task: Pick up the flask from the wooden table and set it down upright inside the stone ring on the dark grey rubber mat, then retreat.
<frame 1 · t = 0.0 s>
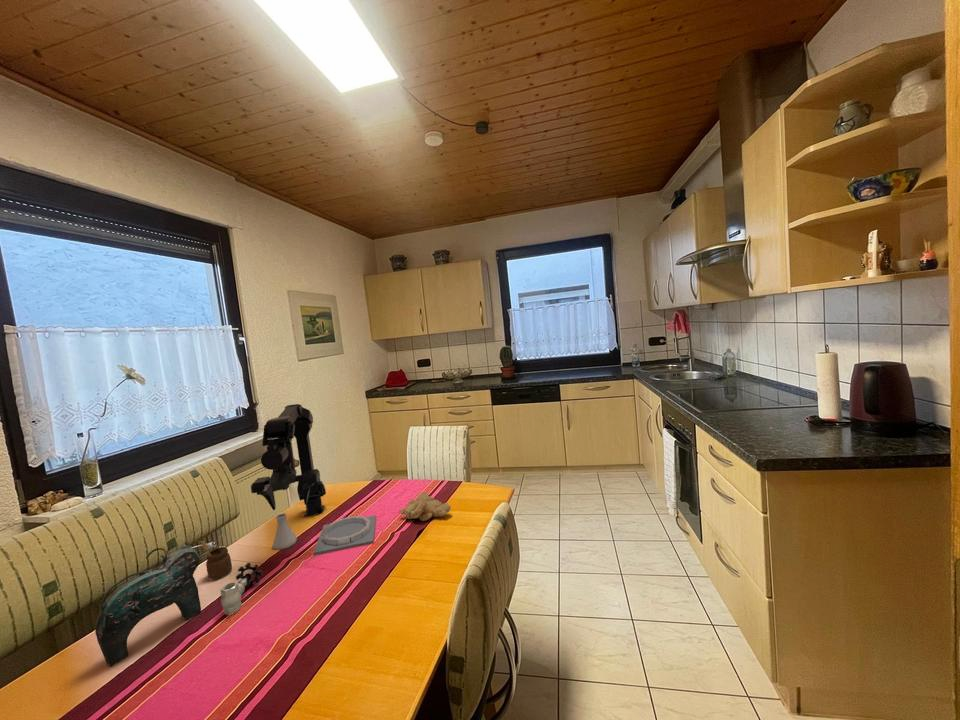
hand: (290, 506, 121), 15 cm above the table, fingers open, 9 cm apart
flask: (285, 544, 127), on the table
stone ring: (346, 529, 129), on the rubber mat, point 1 cm above the table
valve: (241, 600, 101), on the table
rubber mat: (347, 534, 129), on the table
green animal figurine: (160, 635, 91), on the table
ginger root: (424, 516, 138), on the table
utensil holder: (220, 575, 113), on the table
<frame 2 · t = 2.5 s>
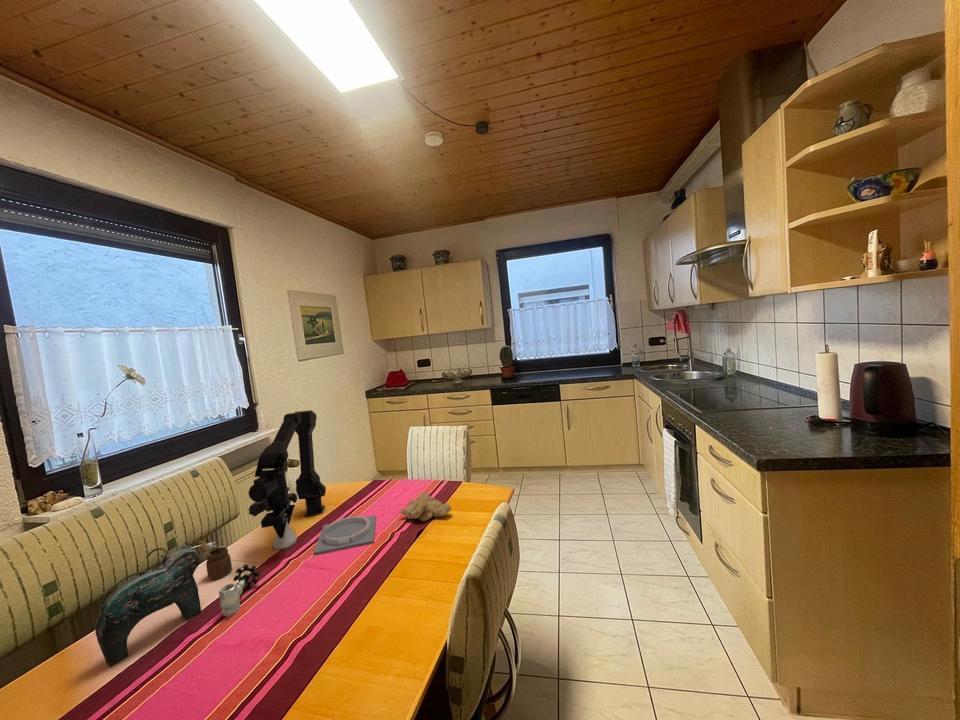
hand: (283, 533, 127), 4 cm above the table, fingers closed on flask, 5 cm apart
flask: (285, 544, 127), on the table, touching gripper
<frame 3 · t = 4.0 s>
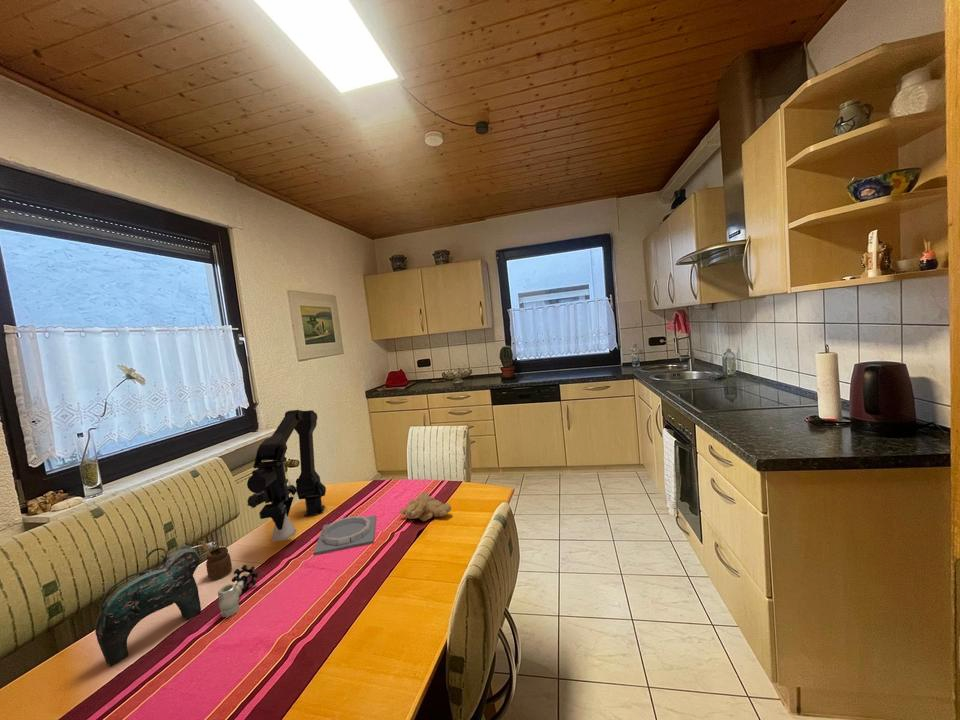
hand: (282, 525, 127), 6 cm above the table, fingers closed on flask, 5 cm apart
flask: (284, 536, 127), point 3 cm above the table, touching gripper
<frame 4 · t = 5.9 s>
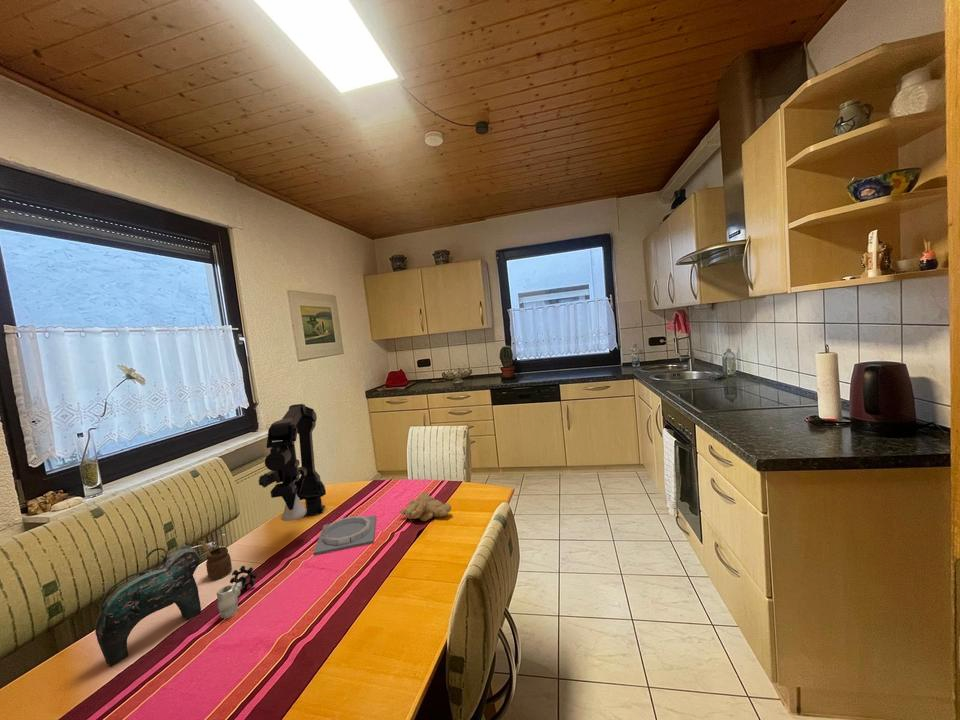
hand: (293, 506, 127), 12 cm above the table, fingers closed on flask, 5 cm apart
flask: (294, 516, 127), point 9 cm above the table, touching gripper
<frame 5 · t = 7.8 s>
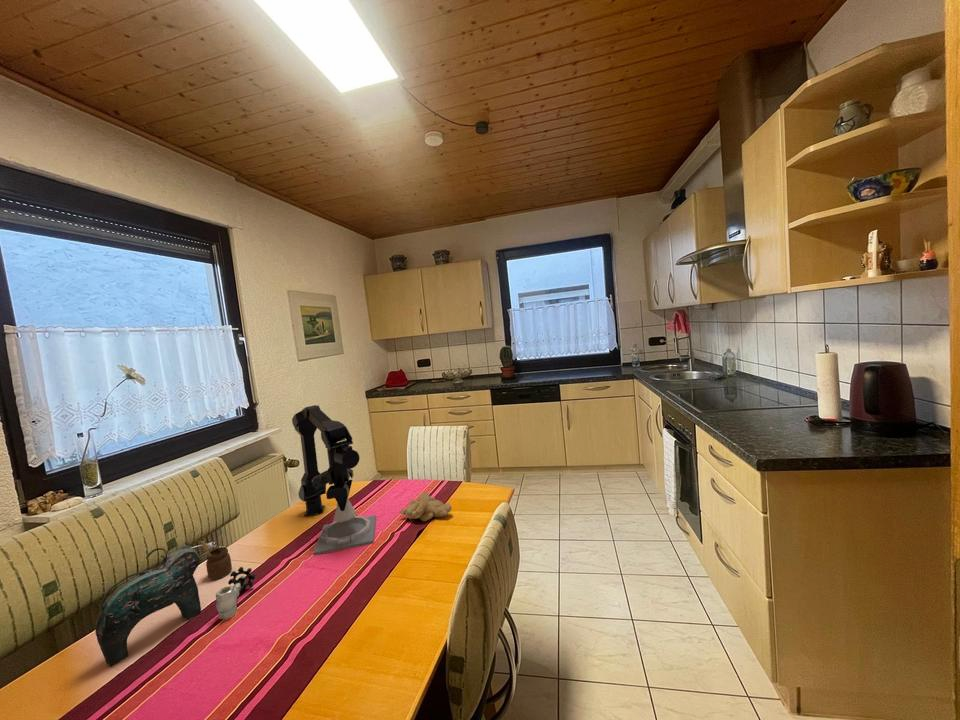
hand: (343, 507, 129), 10 cm above the table, fingers closed on flask, 5 cm apart
flask: (345, 517, 129), point 6 cm above the table, touching gripper
when the fingers open (6 cm above the table, at t = 9.3 s): flask drops 1 cm, resting on rubber mat.
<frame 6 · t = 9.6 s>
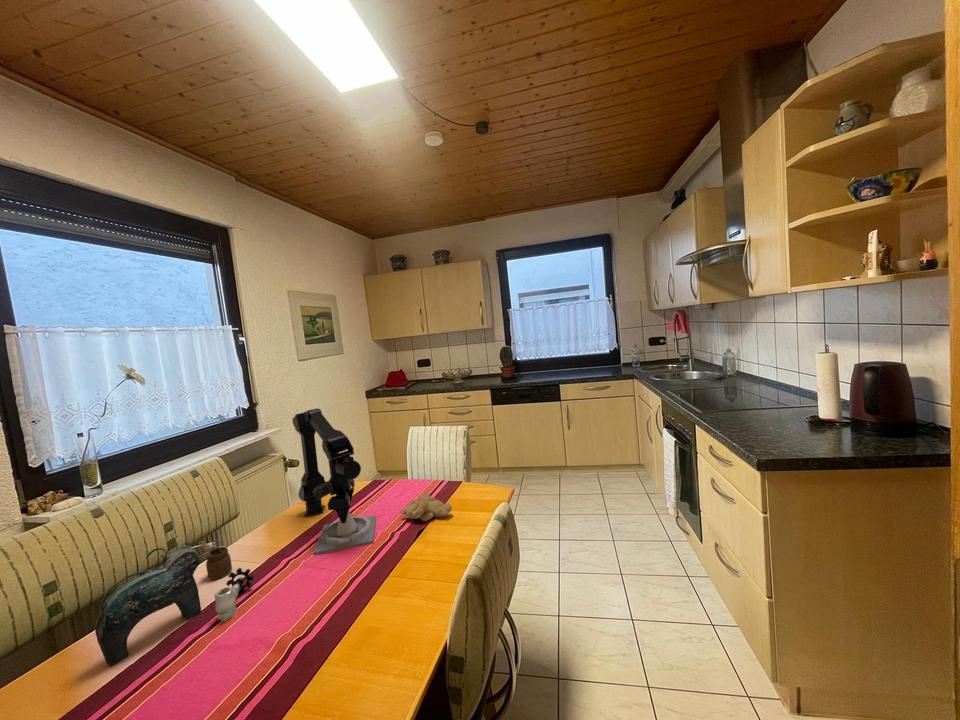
hand: (345, 517, 129), 6 cm above the table, fingers open, 7 cm apart
flask: (347, 532, 129), point 1 cm above the table, touching rubber mat
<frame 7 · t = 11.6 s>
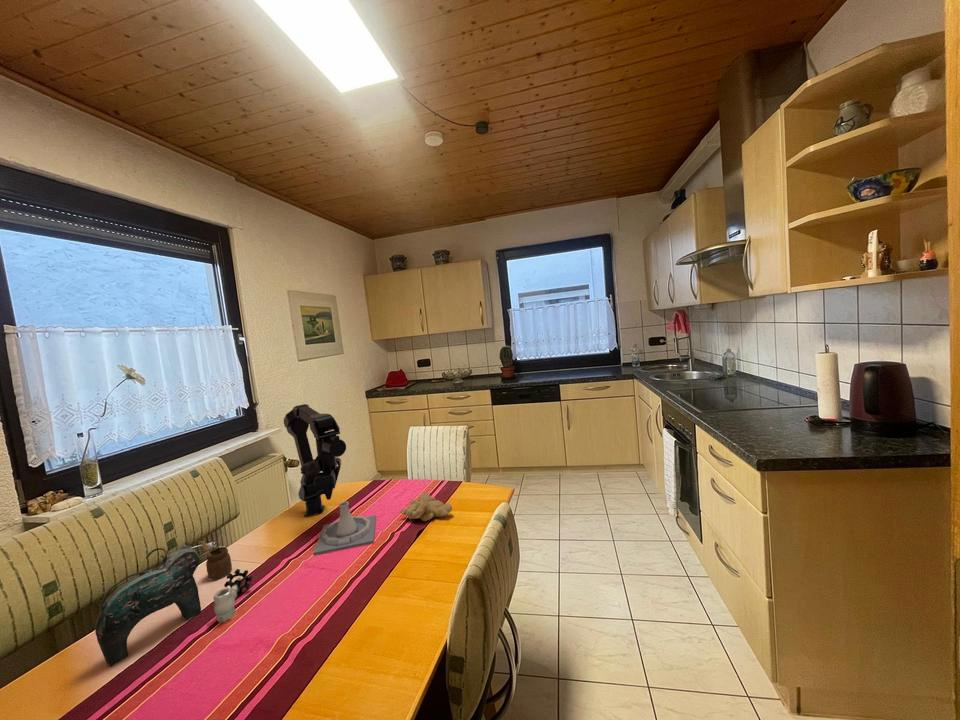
hand: (331, 493, 136), 12 cm above the table, fingers open, 9 cm apart
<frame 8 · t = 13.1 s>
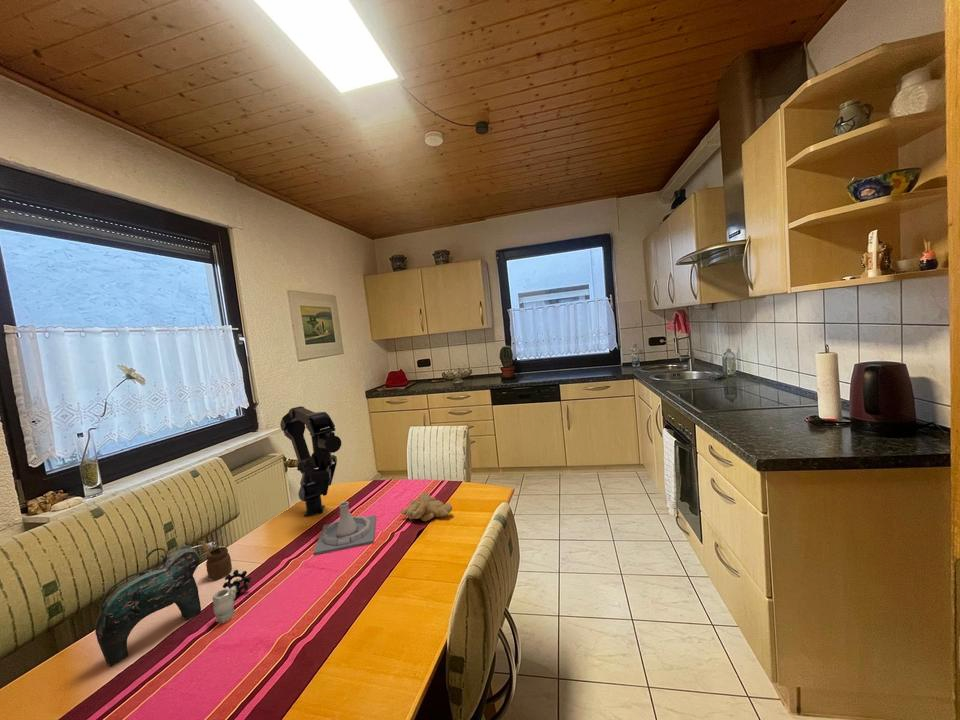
hand: (327, 490, 139), 12 cm above the table, fingers open, 9 cm apart
at the end: flask inside the target area on the stone ring (0.1 cm from its centre), point 0.6 cm above the stone ring's base; flask tilted 0°; the gripper is holding nothing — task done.
